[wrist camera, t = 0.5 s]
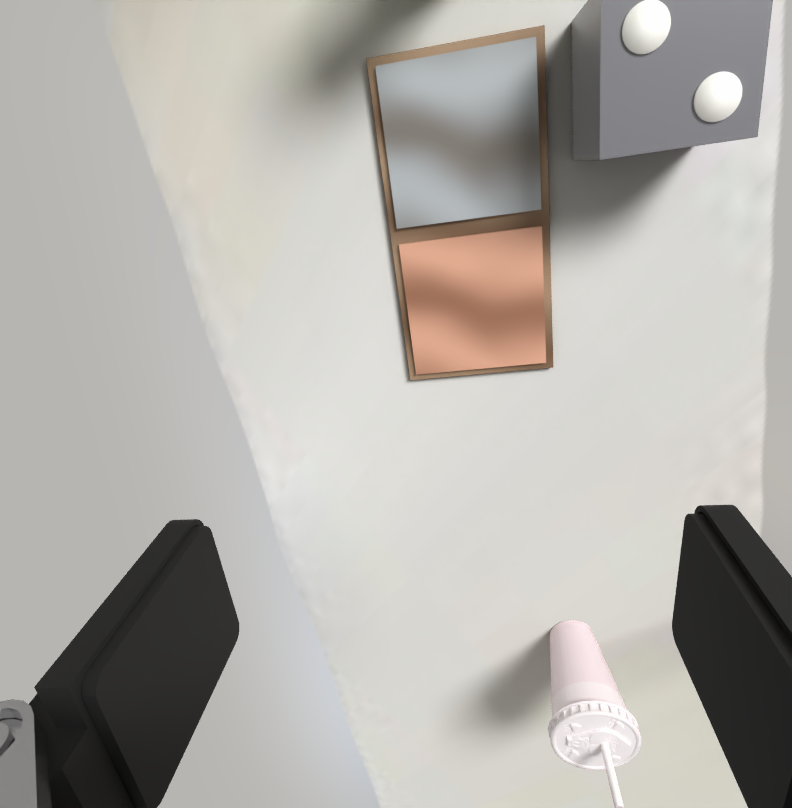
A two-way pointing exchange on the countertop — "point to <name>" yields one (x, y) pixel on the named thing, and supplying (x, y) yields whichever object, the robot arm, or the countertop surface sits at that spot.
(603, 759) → the smoothie
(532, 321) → the game board
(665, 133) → the die
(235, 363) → the countertop surface
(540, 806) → the countertop surface
